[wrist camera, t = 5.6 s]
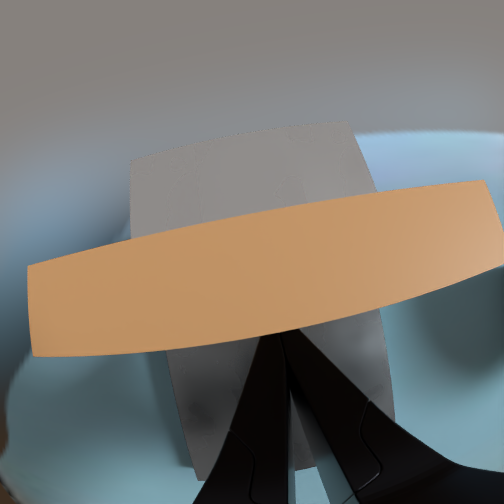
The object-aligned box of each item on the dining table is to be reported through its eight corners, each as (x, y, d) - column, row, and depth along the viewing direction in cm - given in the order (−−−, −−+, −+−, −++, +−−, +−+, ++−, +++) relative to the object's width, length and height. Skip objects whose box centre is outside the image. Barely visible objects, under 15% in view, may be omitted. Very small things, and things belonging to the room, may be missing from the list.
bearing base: (386, 432, 13) (465, 493, 4) (203, 469, 13) (157, 557, 4) (342, 208, 16) (395, 115, 8) (160, 242, 16) (81, 173, 8)
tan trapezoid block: (353, 307, 13) (511, 260, 3) (189, 339, 13) (32, 356, 3) (322, 189, 14) (378, 23, 5) (173, 217, 14) (66, 78, 5)
